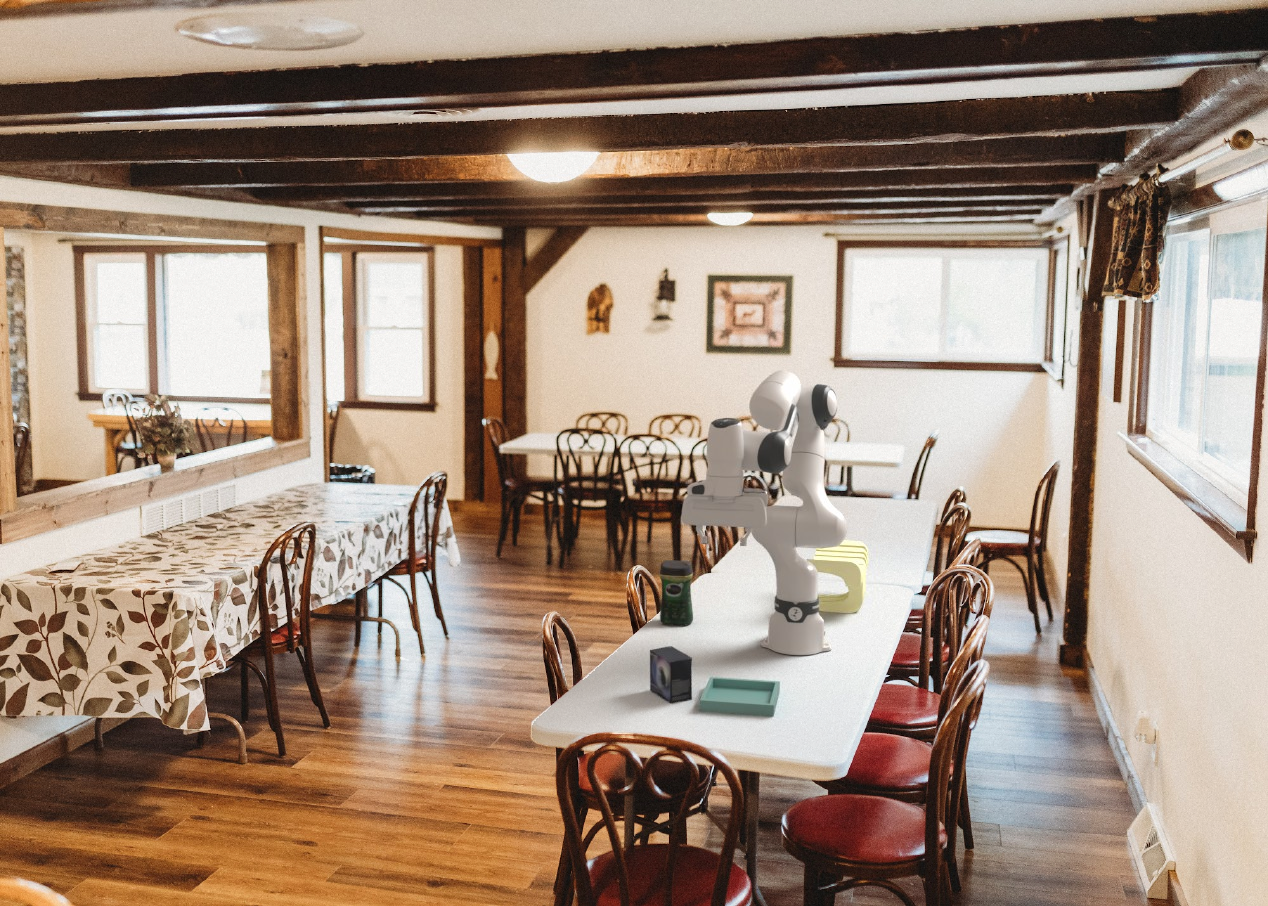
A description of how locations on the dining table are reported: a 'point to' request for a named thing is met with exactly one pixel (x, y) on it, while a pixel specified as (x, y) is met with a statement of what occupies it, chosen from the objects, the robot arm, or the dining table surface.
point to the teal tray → (740, 696)
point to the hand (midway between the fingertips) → (723, 544)
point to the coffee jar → (676, 593)
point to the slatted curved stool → (843, 575)
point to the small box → (671, 674)
